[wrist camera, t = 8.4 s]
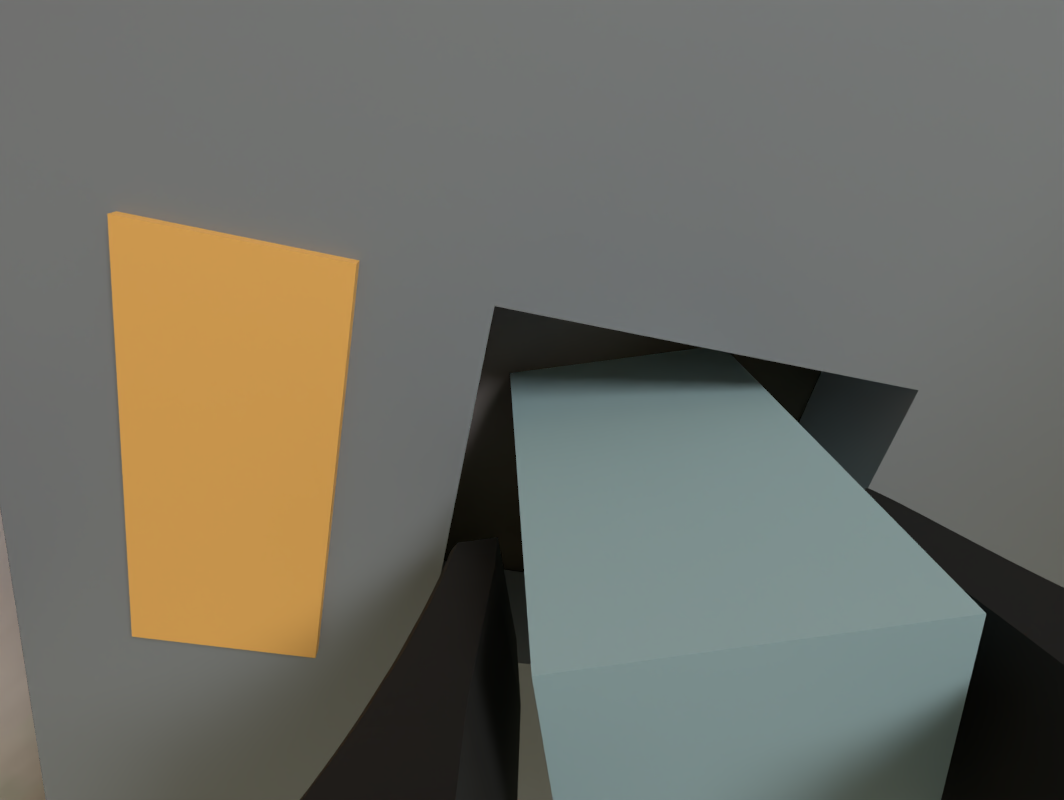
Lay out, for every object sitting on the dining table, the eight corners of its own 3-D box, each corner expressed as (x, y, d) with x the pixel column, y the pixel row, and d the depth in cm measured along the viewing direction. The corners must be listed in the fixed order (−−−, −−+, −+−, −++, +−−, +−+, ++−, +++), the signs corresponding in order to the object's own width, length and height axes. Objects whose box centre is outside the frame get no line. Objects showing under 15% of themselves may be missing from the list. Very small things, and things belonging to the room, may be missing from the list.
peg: (720, 343, 12) (986, 614, 5) (719, 517, 13) (921, 878, 7) (509, 372, 12) (532, 675, 5) (535, 542, 13) (574, 926, 7)
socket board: (1403, 17, 10) (1699, -11, 7) (861, 810, 18) (918, 920, 16) (30, -429, 7) (-209, -702, 5) (119, 738, 15) (47, 858, 13)
